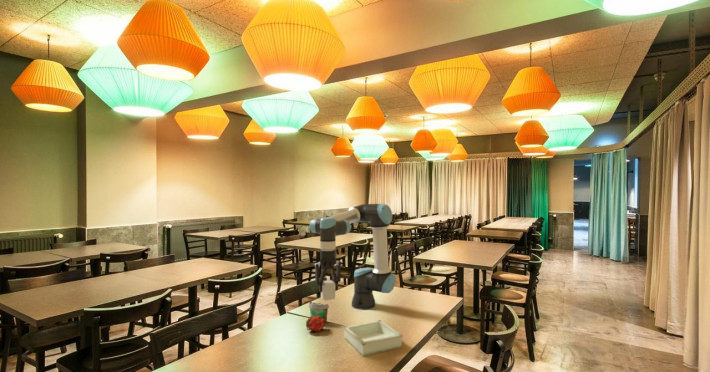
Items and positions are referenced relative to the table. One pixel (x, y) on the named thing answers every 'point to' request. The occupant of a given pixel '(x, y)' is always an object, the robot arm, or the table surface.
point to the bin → (373, 337)
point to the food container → (318, 310)
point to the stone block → (329, 290)
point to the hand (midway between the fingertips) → (328, 297)
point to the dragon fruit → (315, 323)
